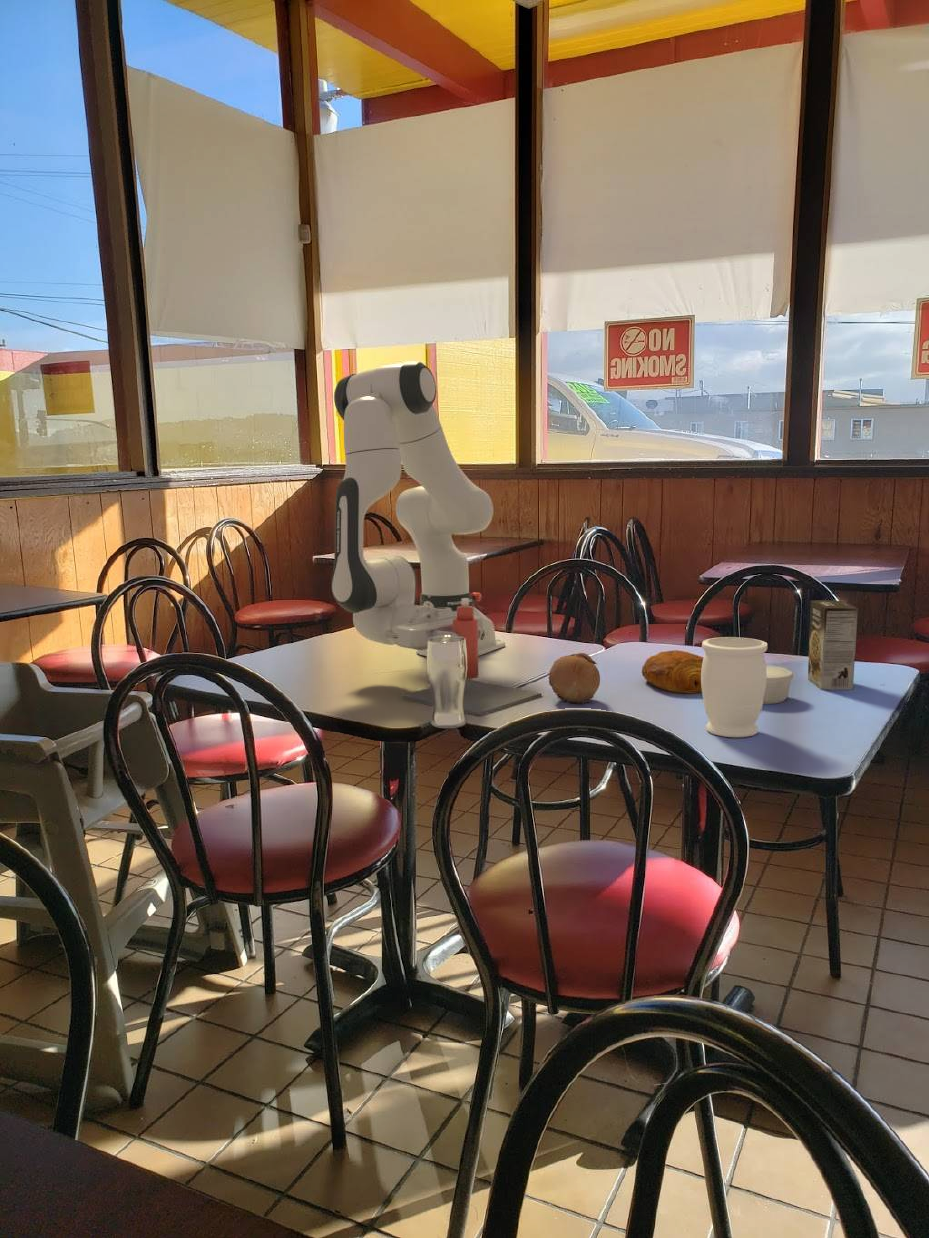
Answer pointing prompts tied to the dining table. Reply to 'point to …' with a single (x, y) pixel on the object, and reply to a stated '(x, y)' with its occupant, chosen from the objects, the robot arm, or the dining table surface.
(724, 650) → the jar
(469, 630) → the bottle
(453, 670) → the beer glass
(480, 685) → the mat
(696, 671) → the croissant
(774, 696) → the ramekin
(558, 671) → the brown round fruit
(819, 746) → the dining table surface
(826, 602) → the coffee box
